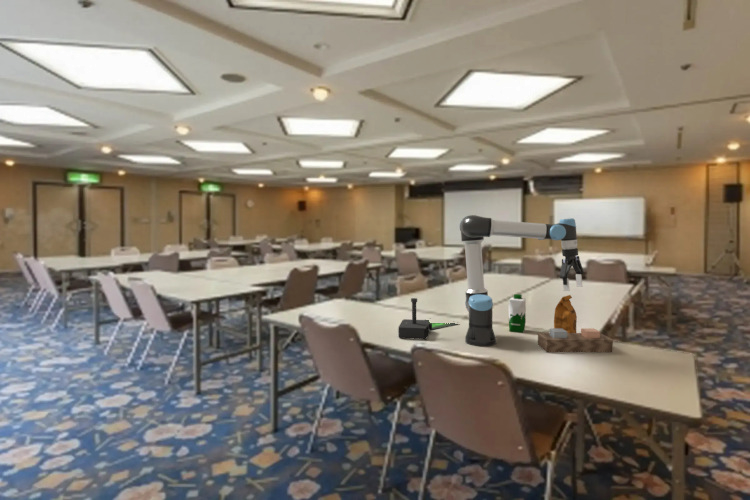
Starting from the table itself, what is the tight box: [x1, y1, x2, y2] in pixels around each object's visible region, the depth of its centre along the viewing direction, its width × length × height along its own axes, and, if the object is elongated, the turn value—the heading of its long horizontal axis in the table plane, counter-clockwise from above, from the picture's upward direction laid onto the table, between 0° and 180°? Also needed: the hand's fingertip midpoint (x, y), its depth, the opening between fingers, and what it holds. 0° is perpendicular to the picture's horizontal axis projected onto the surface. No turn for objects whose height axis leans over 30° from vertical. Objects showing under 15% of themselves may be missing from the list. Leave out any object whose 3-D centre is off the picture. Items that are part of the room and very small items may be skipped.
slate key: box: [548, 327, 567, 338], centre depth 200 cm, size 6×6×5 cm
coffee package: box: [553, 294, 578, 333], centre depth 219 cm, size 10×12×22 cm
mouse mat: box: [431, 323, 458, 331], centre depth 254 cm, size 27×22×1 cm
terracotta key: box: [580, 327, 601, 338], centre depth 199 cm, size 6×6×5 cm
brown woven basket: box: [537, 332, 614, 353], centre depth 200 cm, size 30×12×6 cm, turn 87°
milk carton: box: [508, 293, 527, 334], centre depth 234 cm, size 9×9×20 cm
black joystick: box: [397, 297, 433, 340], centre depth 229 cm, size 19×17×20 cm
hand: (573, 288), depth 219 cm, fingers open, 13 cm apart
